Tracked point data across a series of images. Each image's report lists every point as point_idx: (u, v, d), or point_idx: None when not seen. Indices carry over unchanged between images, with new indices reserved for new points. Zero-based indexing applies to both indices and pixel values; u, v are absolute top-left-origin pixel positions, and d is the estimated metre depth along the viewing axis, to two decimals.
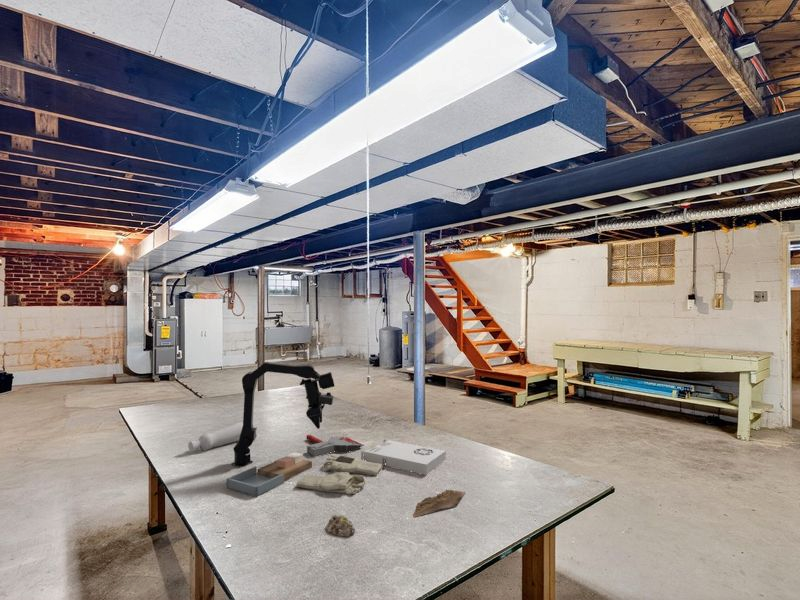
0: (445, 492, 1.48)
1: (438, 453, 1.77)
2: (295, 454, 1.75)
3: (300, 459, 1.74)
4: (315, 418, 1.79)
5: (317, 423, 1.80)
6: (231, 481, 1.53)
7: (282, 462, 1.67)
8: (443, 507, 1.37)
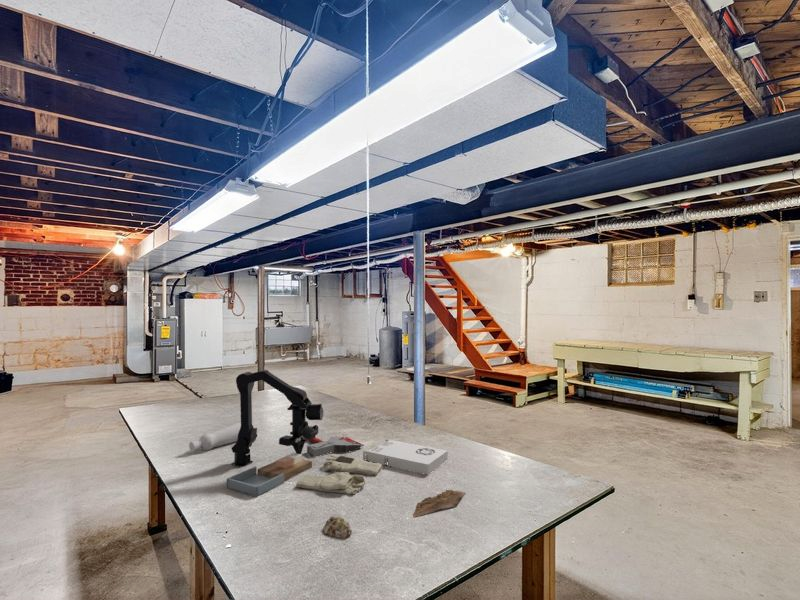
0: (445, 492, 1.48)
1: (440, 453, 1.77)
2: (294, 454, 1.75)
3: (299, 459, 1.74)
4: (296, 445, 1.76)
5: (297, 450, 1.76)
6: (231, 481, 1.53)
7: (282, 462, 1.67)
8: (443, 507, 1.37)
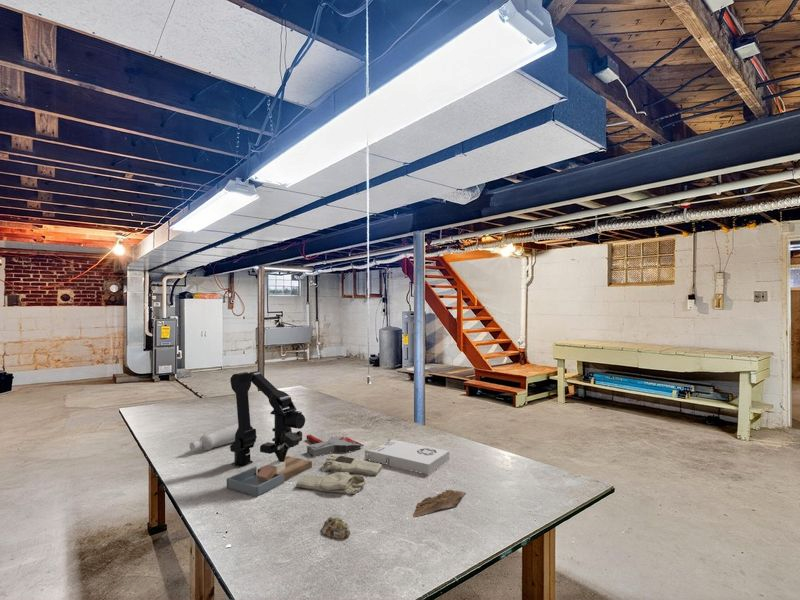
0: (445, 492, 1.48)
1: (441, 454, 1.77)
2: (277, 463, 1.66)
3: (282, 468, 1.65)
4: (279, 452, 1.67)
5: (280, 458, 1.67)
6: (231, 481, 1.53)
7: (262, 477, 1.57)
8: (443, 507, 1.37)
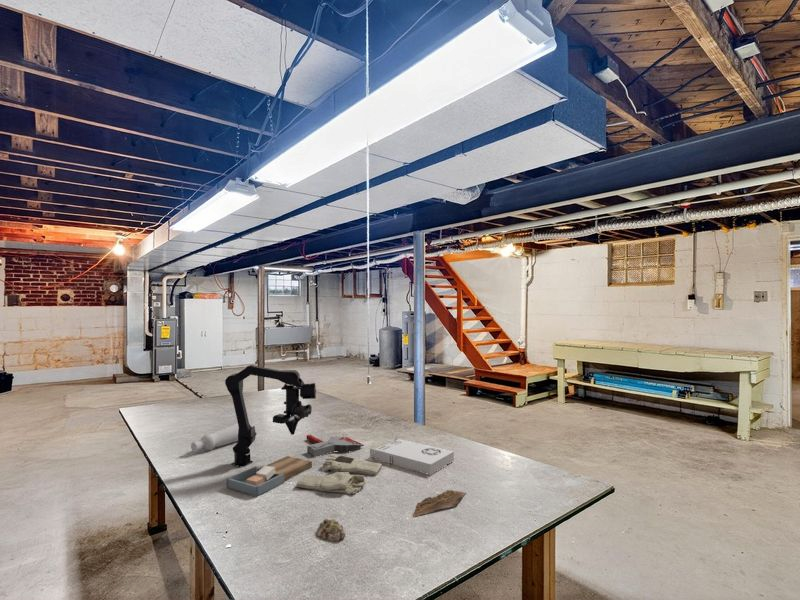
0: (446, 492, 1.48)
1: (445, 454, 1.76)
2: (266, 469, 1.60)
3: (272, 473, 1.60)
4: (289, 423, 1.80)
5: (290, 429, 1.80)
6: (231, 481, 1.53)
7: (252, 481, 1.53)
8: (442, 507, 1.37)
